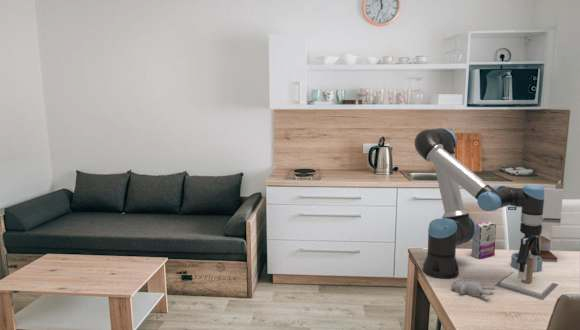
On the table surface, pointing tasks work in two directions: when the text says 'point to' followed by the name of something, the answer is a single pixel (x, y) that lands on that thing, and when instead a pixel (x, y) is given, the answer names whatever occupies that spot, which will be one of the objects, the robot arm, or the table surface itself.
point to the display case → (549, 220)
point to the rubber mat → (529, 293)
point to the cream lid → (527, 281)
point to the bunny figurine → (471, 288)
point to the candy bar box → (484, 240)
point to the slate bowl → (515, 257)
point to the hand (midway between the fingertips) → (527, 274)
